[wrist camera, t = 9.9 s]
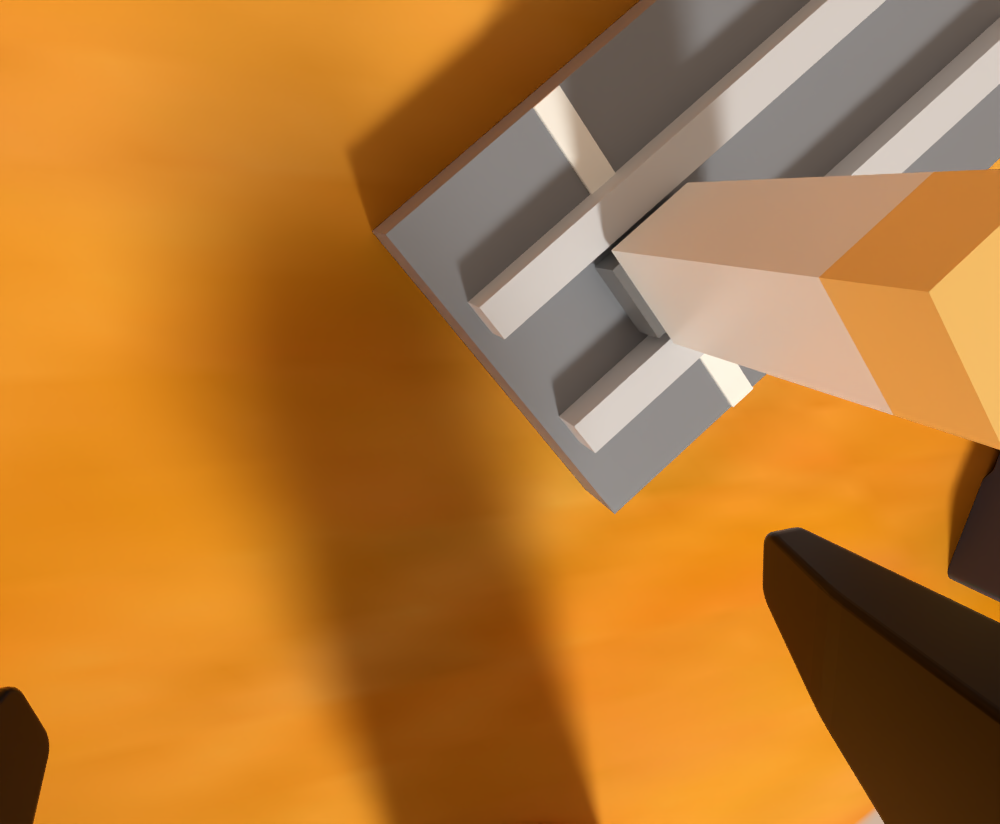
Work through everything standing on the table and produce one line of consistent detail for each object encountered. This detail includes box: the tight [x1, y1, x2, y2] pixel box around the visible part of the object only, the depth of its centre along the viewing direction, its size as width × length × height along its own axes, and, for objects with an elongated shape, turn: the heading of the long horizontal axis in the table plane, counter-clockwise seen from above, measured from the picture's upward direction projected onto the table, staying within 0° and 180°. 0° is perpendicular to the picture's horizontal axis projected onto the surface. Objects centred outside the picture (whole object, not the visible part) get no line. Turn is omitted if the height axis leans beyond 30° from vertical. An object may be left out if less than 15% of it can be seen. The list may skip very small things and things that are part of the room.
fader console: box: [372, 0, 1000, 514], centre depth 20 cm, size 18×10×3 cm, turn 129°
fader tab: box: [595, 169, 1000, 450], centre depth 15 cm, size 3×3×10 cm
